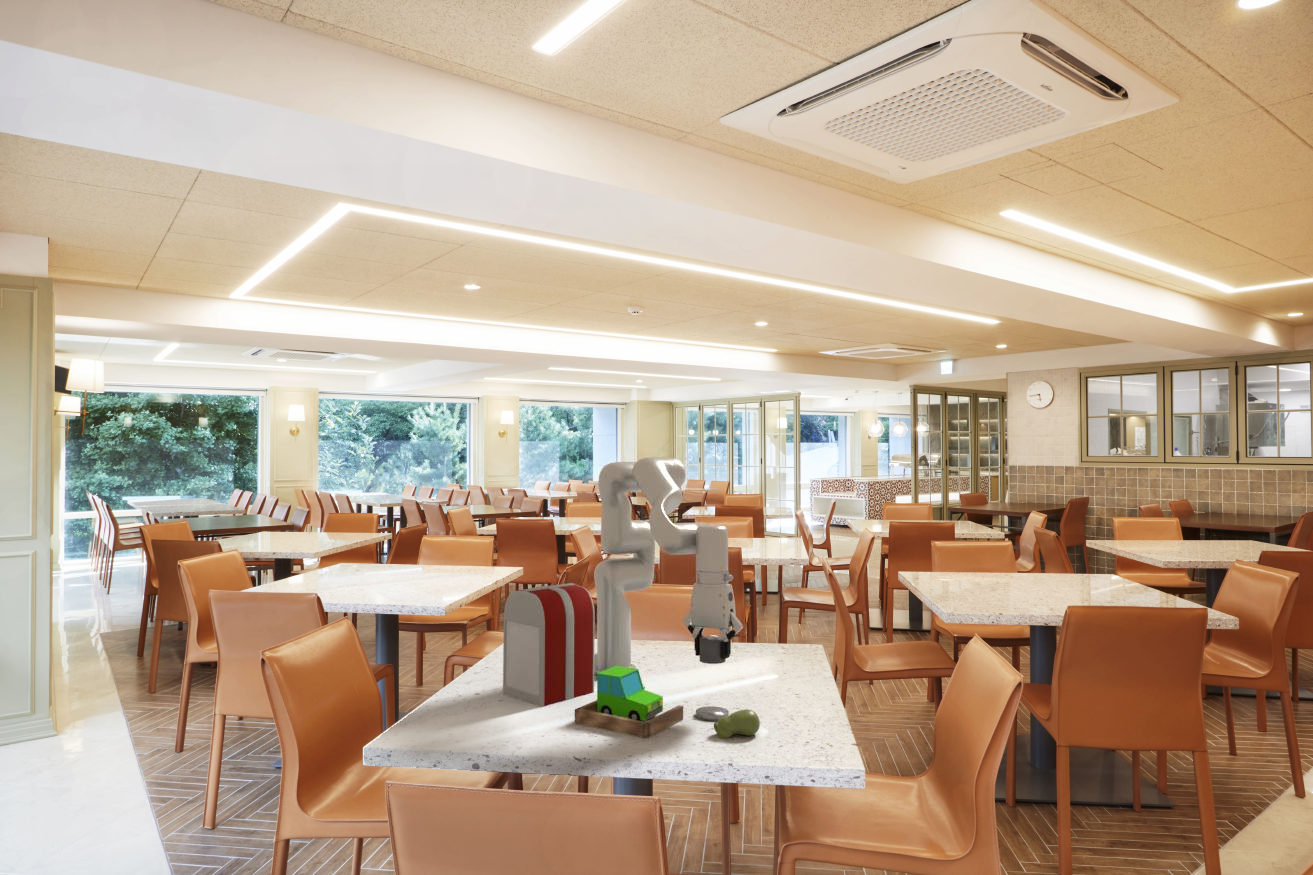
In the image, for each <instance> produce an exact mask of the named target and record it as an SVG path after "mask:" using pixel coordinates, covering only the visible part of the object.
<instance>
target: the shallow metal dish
mask: <svg viewBox="0 0 1313 875" xmlns="http://www.w3.org/2000/svg"><path fill="white" fill-rule="evenodd" d="M729 711H730V710H728V709H727V708H726V707H725V708H724V707H722V706H714V705H713V706H702V707H699V708H697V709H696V710H695V717H696V718H697V719H699V720H702V721H706V722H707V721H708V722H709V721H710V722H718V720H719V719H720V718H722V717H727V716H729V715H730V714H729Z"/></svg>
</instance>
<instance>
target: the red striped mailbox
mask: <svg viewBox="0 0 1313 875" xmlns="http://www.w3.org/2000/svg"><path fill="white" fill-rule="evenodd" d="M595 619H596V618H595V605H594V600H593V598H592V595H591V593H590V591H589V590H588V589H587V588H586V587H583V586H580V585H578V584H577V583H573V582H569V583H562V584H554V585H541V586H535V587H534V588H526V589H525V588H524V589H519V590H518V589H517V590H513V591H512V592H510V593H509V595H508V597H507V599H506V601H505V604H504V611H503V649H502V650H503V652H502V653H503V654H502V655H503V658H502V659H503V661H502V662H503V663H502V668H503V669H502V672H503V673H502V674H503V675H502V694H503V695H505V696H508V697H511V698H513V699H516V700H519V701H522V702H524V703H528V704H531V705H534V706H537V707H540V708H541V707H546V706H551V705H553V704H558V703H561V702H565V701H569V700H574V699H575V698H579V697H584V696H586V695H590V694H593V693H595V674H594V653H595V629H596V628H595V627H596V626H595V625H596V624H595V622H596V621H595Z"/></svg>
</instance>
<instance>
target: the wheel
mask: <svg viewBox="0 0 1313 875" xmlns="http://www.w3.org/2000/svg"><path fill="white" fill-rule="evenodd" d="M722 641H723V639H722V636H719V635H715V634H714V635H713V634H710V635H706V636H704V637H701V638H700V655H699V662H700V663H703V664H710V665H715V664H716V665H717V664H723V663H725V662H726V659H721V642H722Z"/></svg>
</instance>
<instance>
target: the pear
mask: <svg viewBox="0 0 1313 875" xmlns="http://www.w3.org/2000/svg"><path fill="white" fill-rule="evenodd" d="M760 724H761V722H760V718H759V716H758V714H757V712H756V711H754V710H752V709H748V708H747V709H741V710H736V711H735V712H733V713H731V714H729V716H727V717H722V718H720V719H719V720H718V721H714V723H713V728H714V731H715V732H716V734H717V736H718V737H719V738H720V739H723V740H724V739H725V740H726V739H729V738H730V737H732V736H733V735H734V734H735V735H736V734H738V735H742V736H747V737H751V736H754V735H755V734H756V733H757V732H759V730H760V726H761V725H760Z"/></svg>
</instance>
